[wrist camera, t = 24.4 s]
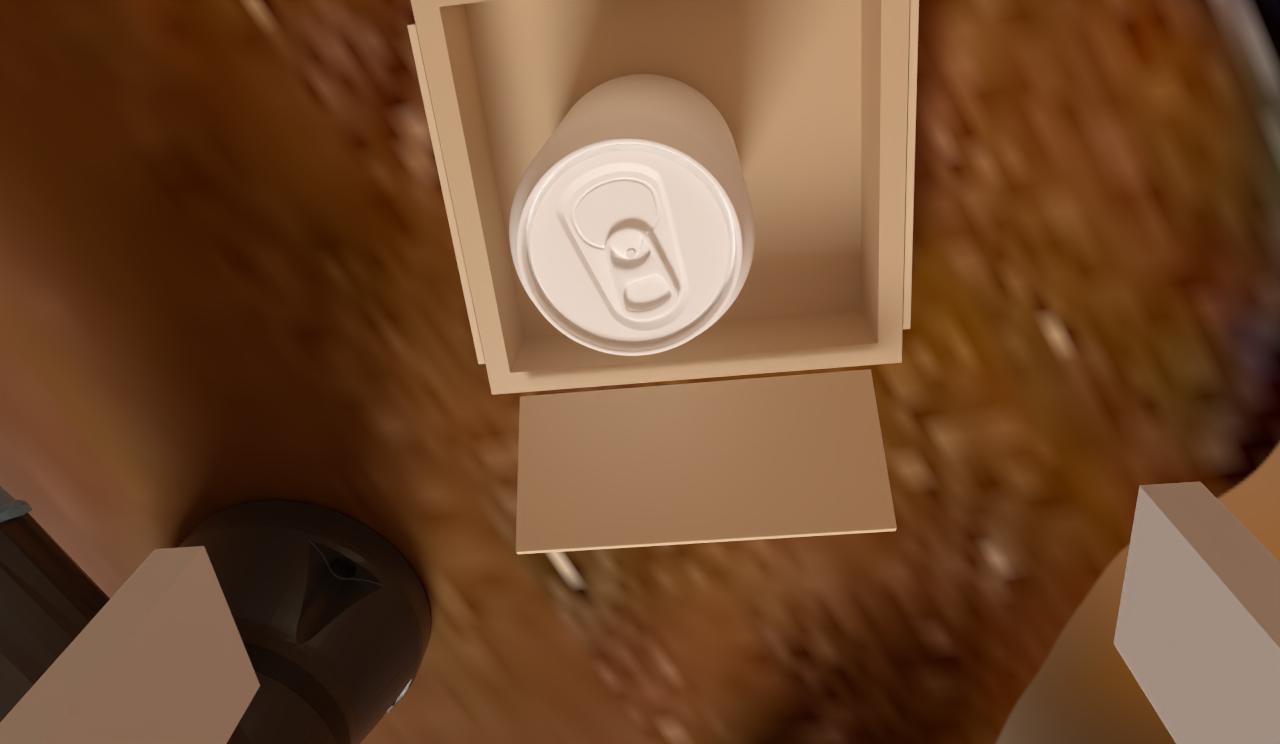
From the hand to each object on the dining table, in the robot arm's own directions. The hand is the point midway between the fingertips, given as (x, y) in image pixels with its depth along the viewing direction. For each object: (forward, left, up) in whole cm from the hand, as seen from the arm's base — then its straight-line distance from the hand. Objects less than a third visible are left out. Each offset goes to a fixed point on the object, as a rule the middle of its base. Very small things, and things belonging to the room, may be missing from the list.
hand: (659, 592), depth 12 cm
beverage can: (-1, 0, -28) cm, 28 cm away
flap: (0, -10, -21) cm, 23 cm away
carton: (0, 0, -29) cm, 29 cm away
